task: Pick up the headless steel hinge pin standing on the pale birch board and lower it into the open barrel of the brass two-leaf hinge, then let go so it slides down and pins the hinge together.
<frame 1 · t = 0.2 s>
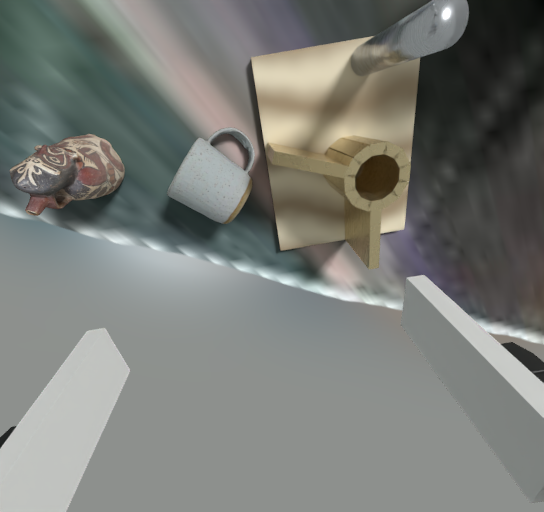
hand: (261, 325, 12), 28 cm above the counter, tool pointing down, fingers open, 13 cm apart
brass hinge: (347, 164, 35), resting on birch board
figurine: (96, 165, 34), on the counter
ceramic mug: (218, 168, 35), on the counter
hinge pin: (363, 60, 30), point 1 cm above the counter, touching birch board
birch board: (337, 156, 35), on the counter
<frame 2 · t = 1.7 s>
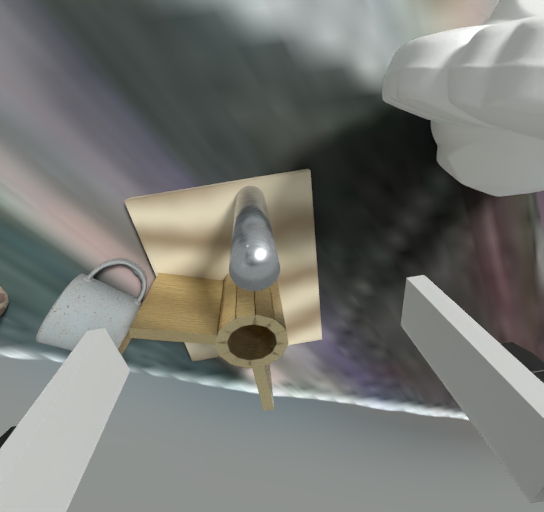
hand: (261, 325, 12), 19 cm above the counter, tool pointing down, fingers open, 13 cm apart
brass hinge: (250, 287, 33), resting on birch board
ceramic mug: (114, 289, 33), on the counter
hinge pin: (250, 200, 28), point 1 cm above the counter, touching birch board
decorative rooster: (462, 89, 26), on the counter
birch board: (241, 278, 33), on the counter
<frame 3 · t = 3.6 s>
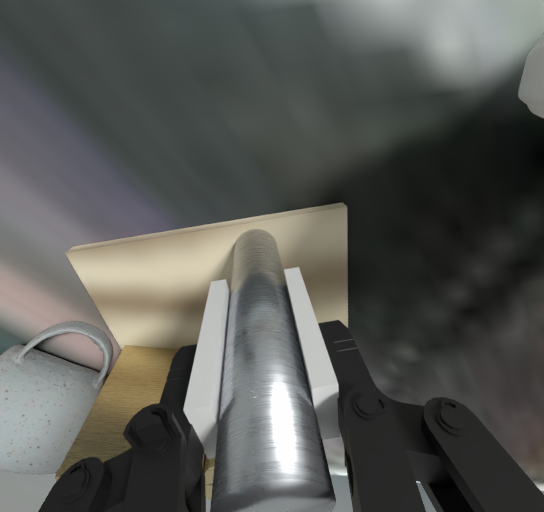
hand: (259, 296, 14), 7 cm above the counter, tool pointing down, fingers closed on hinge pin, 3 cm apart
brass hinge: (254, 360, 24), resting on birch board
ceramic mug: (68, 357, 24), on the counter
hinge pin: (256, 248, 19), point 1 cm above the counter, touching birch board, gripper
birch board: (241, 345, 24), on the counter
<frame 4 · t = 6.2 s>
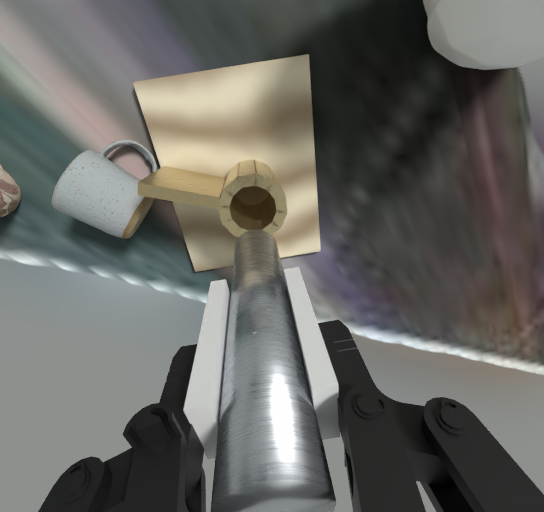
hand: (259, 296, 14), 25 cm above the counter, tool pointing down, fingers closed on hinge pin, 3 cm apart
brass hinge: (251, 187, 34), resting on birch board
ceramic mug: (125, 180, 34), on the counter
hinge pin: (256, 249, 19), point 19 cm above the counter, touching gripper
birch board: (242, 179, 35), on the counter
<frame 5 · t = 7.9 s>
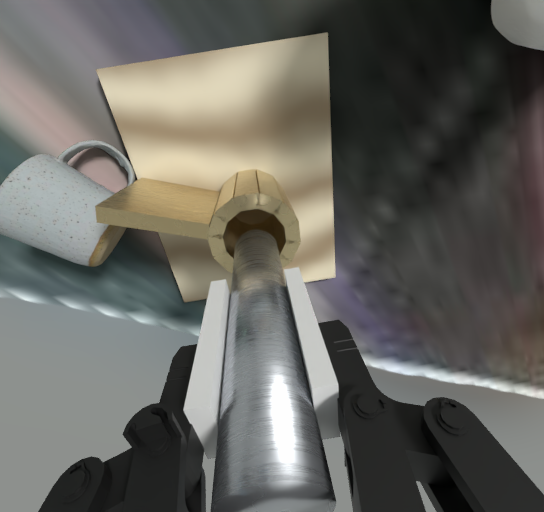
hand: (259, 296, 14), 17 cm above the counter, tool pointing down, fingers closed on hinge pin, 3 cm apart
brass hinge: (252, 203, 28), resting on birch board
ceramic mug: (95, 191, 27), on the counter
hinge pin: (256, 249, 19), point 11 cm above the counter, touching gripper
birch board: (241, 193, 28), on the counter
when the fingers open (12 cm above the counter, at t = 9.3 s): hinge pin drops 6 cm, resting on birch board.
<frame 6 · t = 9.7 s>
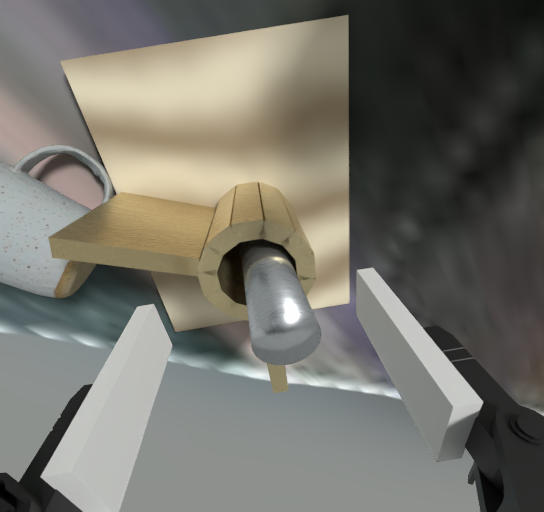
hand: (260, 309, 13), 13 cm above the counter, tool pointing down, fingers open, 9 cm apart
brass hinge: (254, 221, 23), resting on birch board
ceramic mug: (68, 204, 23), on the counter
hinge pin: (254, 221, 23), point 1 cm above the counter, touching birch board
birch board: (241, 208, 24), on the counter
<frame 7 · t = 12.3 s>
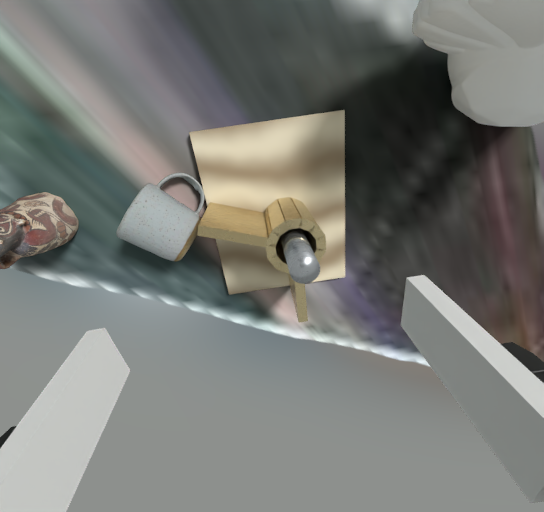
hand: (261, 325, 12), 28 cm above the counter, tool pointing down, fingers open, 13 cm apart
brass hinge: (286, 221, 38), resting on birch board
figurine: (51, 217, 37), on the counter
ceramic mug: (173, 207, 37), on the counter, touching birch board
hinge pin: (286, 221, 38), point 1 cm above the counter, touching birch board
decorative rooster: (471, 43, 31), on the counter
birch board: (277, 213, 38), on the counter
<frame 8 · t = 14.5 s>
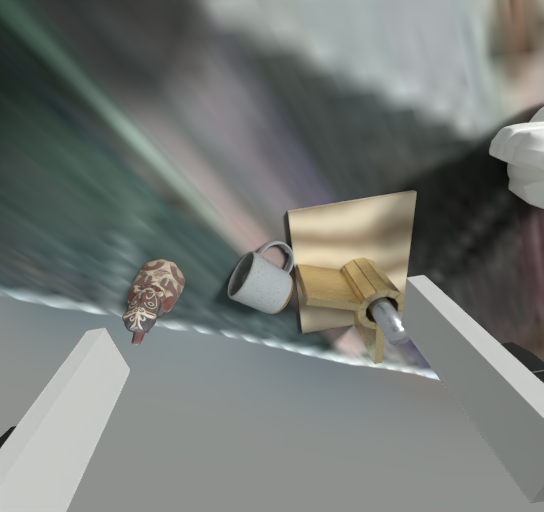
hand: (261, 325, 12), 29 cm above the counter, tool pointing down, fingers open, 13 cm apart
brass hinge: (358, 275, 45), resting on birch board
figurine: (163, 278, 43), on the counter
ceramic mug: (263, 264, 44), on the counter
hinge pin: (358, 275, 45), point 1 cm above the counter, touching birch board
decorative rooster: (523, 137, 38), on the counter
birch board: (350, 268, 45), on the counter
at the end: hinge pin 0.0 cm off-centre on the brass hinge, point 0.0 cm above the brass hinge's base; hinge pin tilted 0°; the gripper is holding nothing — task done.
